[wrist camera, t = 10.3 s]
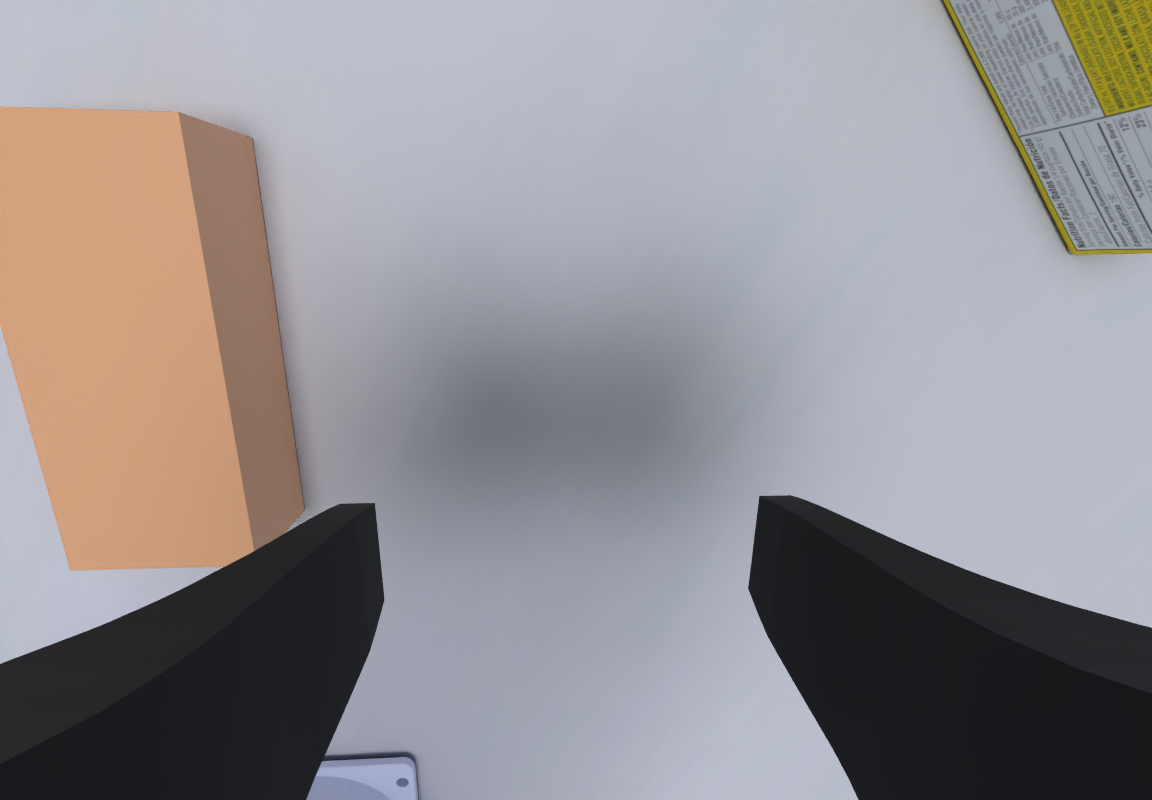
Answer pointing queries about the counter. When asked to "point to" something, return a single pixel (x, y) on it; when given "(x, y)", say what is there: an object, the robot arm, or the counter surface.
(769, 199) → the counter surface
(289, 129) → the counter surface
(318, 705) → the robot arm
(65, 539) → the tan rectangular plank
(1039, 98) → the candy box
